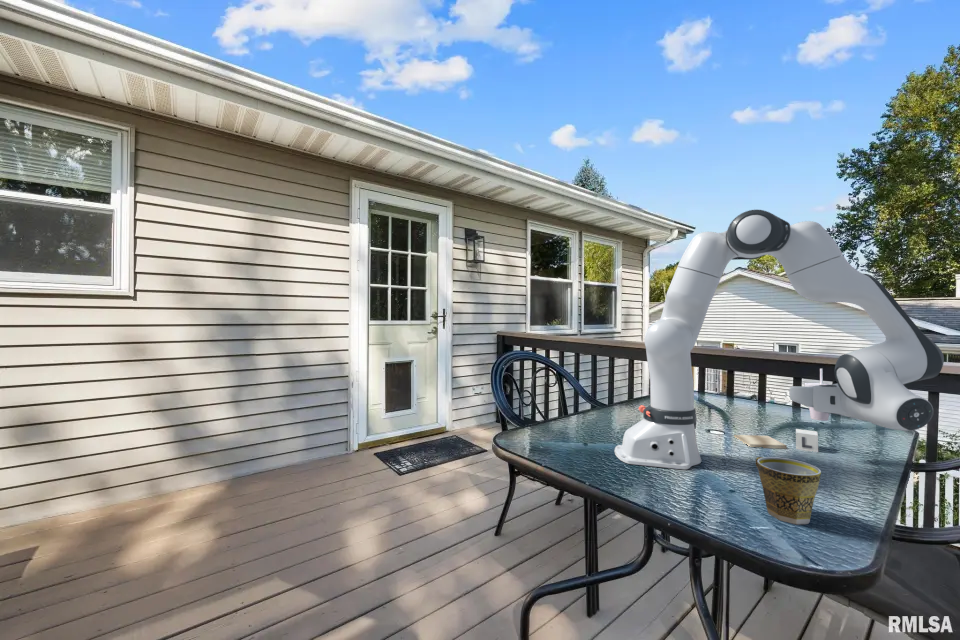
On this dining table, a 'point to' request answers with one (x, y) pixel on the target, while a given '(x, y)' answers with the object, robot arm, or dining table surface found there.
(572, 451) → the dining table surface
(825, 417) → the smoothie
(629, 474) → the dining table surface
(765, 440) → the maple pad
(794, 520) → the ceramic cup
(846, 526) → the dining table surface
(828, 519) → the dining table surface
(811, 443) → the letter cube
